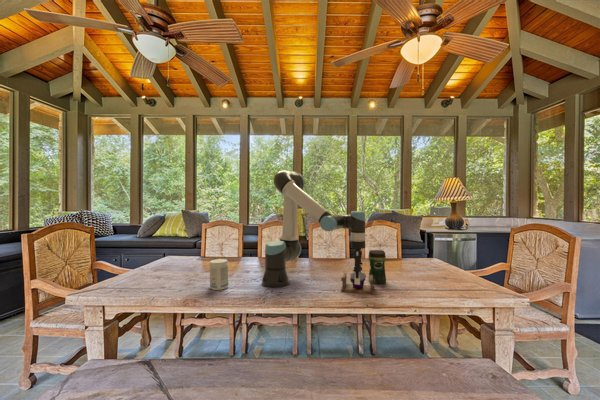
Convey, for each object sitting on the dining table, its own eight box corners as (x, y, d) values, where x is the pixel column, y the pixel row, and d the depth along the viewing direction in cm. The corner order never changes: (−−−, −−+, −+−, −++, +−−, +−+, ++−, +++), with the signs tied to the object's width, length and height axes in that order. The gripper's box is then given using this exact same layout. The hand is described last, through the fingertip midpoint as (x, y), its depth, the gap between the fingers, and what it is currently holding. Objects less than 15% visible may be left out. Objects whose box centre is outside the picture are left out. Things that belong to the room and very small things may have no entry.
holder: (340, 291, 144) (340, 277, 144) (342, 285, 154) (342, 272, 154) (375, 294, 140) (375, 280, 140) (374, 288, 149) (374, 274, 149)
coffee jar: (383, 280, 163) (384, 249, 163) (387, 284, 155) (387, 251, 155) (367, 280, 164) (367, 248, 164) (369, 284, 156) (369, 251, 156)
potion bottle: (346, 285, 149) (346, 263, 149) (360, 283, 152) (360, 262, 152) (355, 290, 141) (355, 267, 141) (369, 288, 144) (369, 265, 144)
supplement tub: (227, 284, 156) (227, 258, 156) (229, 289, 147) (229, 261, 147) (209, 286, 153) (209, 259, 153) (210, 291, 144) (209, 263, 144)
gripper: (364, 244, 134) (364, 288, 134) (365, 237, 158) (365, 274, 158) (348, 243, 135) (348, 287, 136) (352, 236, 160) (352, 273, 160)
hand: (357, 280), depth 147 cm, fingers open, 13 cm apart
